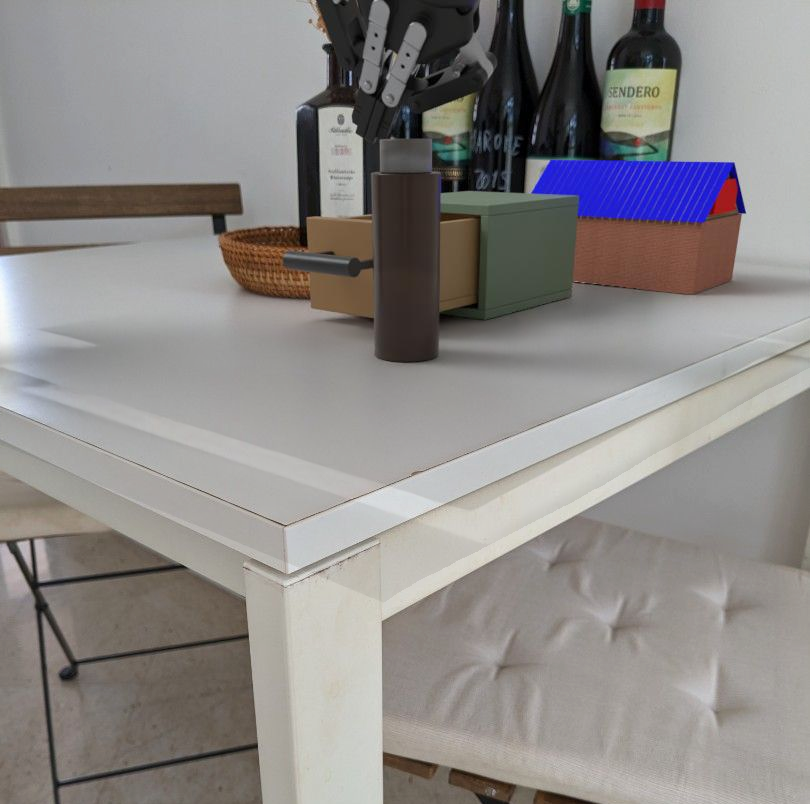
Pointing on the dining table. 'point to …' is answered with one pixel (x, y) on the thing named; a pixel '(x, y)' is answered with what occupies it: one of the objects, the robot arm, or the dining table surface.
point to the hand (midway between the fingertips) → (369, 132)
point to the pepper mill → (406, 251)
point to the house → (651, 221)
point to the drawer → (353, 262)
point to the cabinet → (519, 249)
